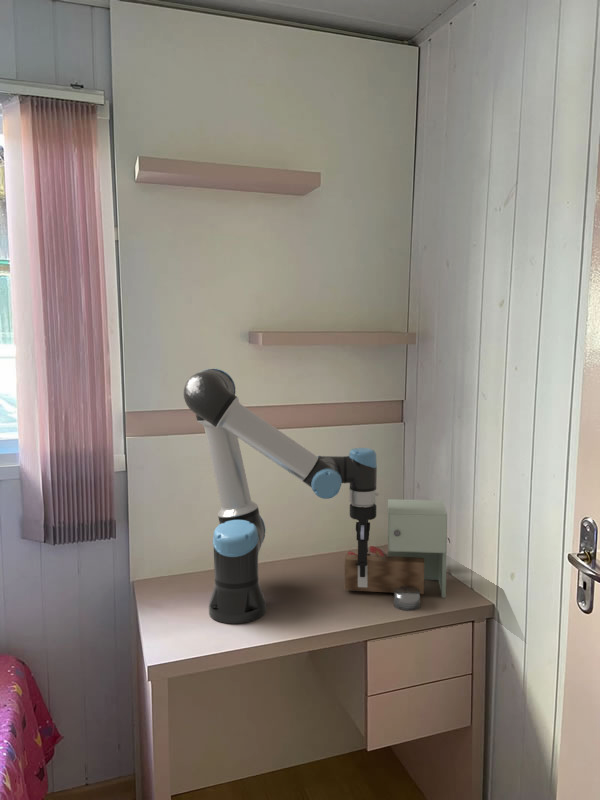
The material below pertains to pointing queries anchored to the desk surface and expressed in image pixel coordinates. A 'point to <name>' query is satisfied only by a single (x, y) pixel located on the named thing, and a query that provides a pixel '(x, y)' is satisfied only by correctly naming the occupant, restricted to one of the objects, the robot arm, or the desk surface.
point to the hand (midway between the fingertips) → (362, 583)
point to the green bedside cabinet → (420, 535)
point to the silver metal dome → (406, 598)
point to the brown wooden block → (385, 573)
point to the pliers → (372, 549)
